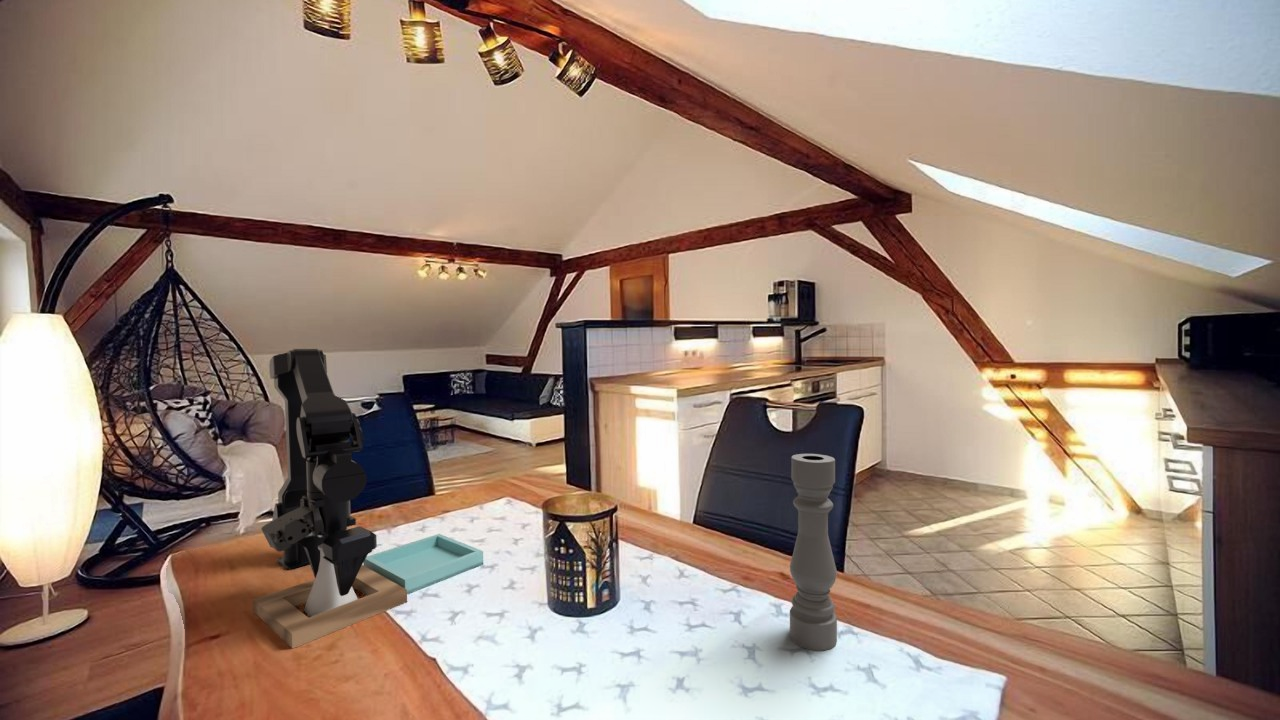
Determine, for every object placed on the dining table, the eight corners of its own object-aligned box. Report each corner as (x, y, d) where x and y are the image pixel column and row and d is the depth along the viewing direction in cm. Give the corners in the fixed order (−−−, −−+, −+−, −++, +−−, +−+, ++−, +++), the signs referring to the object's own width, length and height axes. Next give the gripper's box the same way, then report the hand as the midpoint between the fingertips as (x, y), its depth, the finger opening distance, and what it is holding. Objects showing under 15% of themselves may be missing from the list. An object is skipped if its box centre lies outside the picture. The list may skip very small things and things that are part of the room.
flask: (294, 612, 80) (292, 548, 79) (340, 592, 86) (338, 533, 86) (322, 624, 76) (320, 557, 76) (368, 602, 83) (366, 540, 82)
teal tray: (363, 571, 94) (363, 557, 94) (439, 545, 106) (439, 533, 106) (405, 595, 85) (405, 580, 85) (483, 564, 97) (483, 551, 97)
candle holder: (813, 655, 67) (813, 465, 67) (780, 632, 73) (779, 456, 72) (847, 642, 70) (847, 459, 70) (812, 621, 76) (812, 451, 75)
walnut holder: (253, 612, 80) (253, 599, 80) (361, 575, 92) (361, 564, 92) (292, 648, 70) (292, 634, 70) (407, 602, 83) (406, 589, 83)
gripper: (247, 489, 80) (250, 589, 81) (291, 512, 69) (295, 628, 69) (325, 475, 89) (327, 564, 89) (377, 493, 77) (379, 596, 78)
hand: (331, 586), depth 81 cm, fingers open, 9 cm apart
